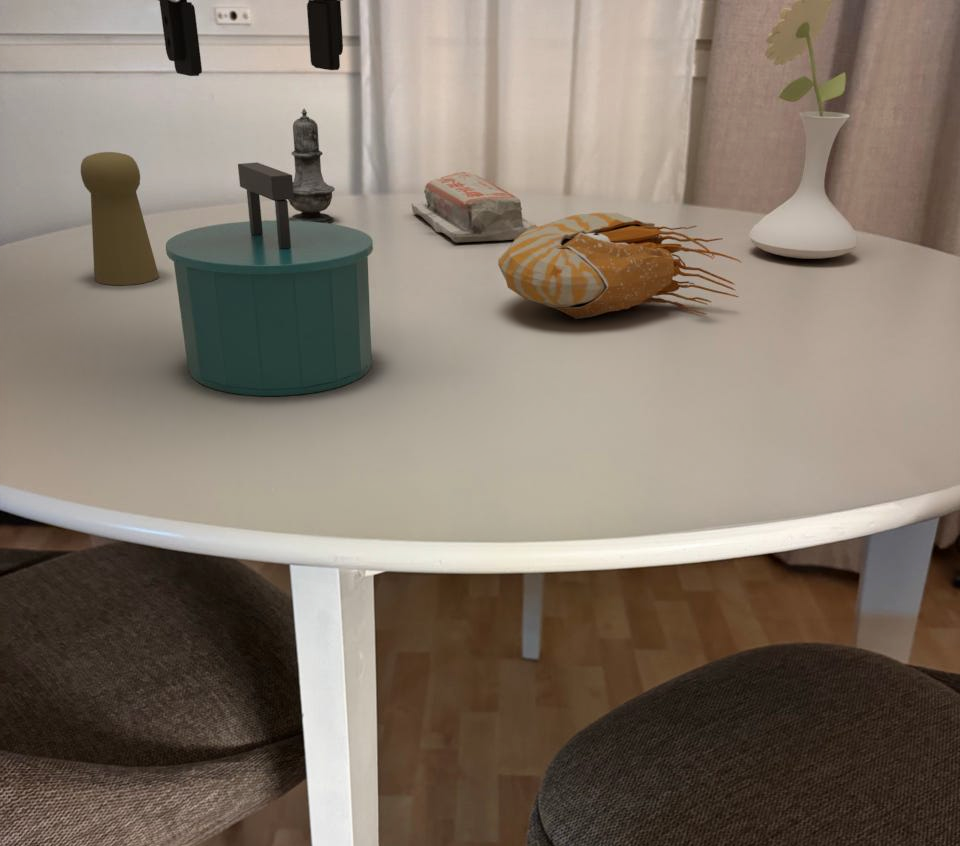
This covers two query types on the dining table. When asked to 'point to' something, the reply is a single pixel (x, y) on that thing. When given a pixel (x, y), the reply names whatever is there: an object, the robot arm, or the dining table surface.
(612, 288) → the nautilus
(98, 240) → the cork
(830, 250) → the flower in vase
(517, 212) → the packaged product
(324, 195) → the salt shaker
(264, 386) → the tin
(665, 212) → the dining table surface
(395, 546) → the dining table surface
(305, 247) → the tin lid
